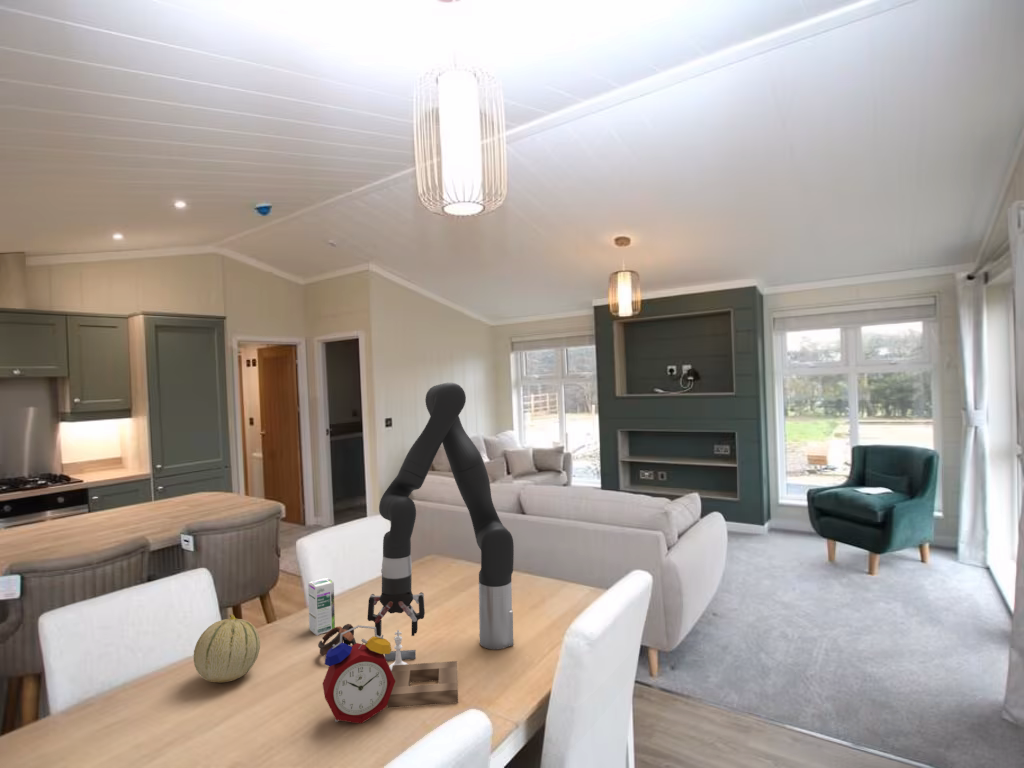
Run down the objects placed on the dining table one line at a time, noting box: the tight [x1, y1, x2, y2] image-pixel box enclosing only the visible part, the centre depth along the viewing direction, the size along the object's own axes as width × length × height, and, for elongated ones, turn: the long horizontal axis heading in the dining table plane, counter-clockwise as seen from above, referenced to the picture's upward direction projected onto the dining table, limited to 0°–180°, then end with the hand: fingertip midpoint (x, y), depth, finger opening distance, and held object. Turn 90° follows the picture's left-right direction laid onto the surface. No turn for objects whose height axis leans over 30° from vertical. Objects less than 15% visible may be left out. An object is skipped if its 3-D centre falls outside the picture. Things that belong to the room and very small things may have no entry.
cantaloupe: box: [193, 613, 261, 684], centre depth 136 cm, size 15×15×15 cm
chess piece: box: [389, 629, 408, 671], centre depth 140 cm, size 5×5×10 cm
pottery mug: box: [317, 623, 357, 656], centre depth 149 cm, size 12×10×8 cm
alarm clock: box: [322, 624, 395, 724], centre depth 121 cm, size 15×9×20 cm, turn 114°
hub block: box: [386, 660, 459, 709], centre depth 130 cm, size 16×13×3 cm
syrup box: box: [307, 577, 336, 636], centre depth 163 cm, size 6×6×14 cm
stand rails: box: [384, 649, 417, 672], centre depth 140 cm, size 8×11×2 cm
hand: (396, 635), depth 140 cm, fingers open, 8 cm apart
